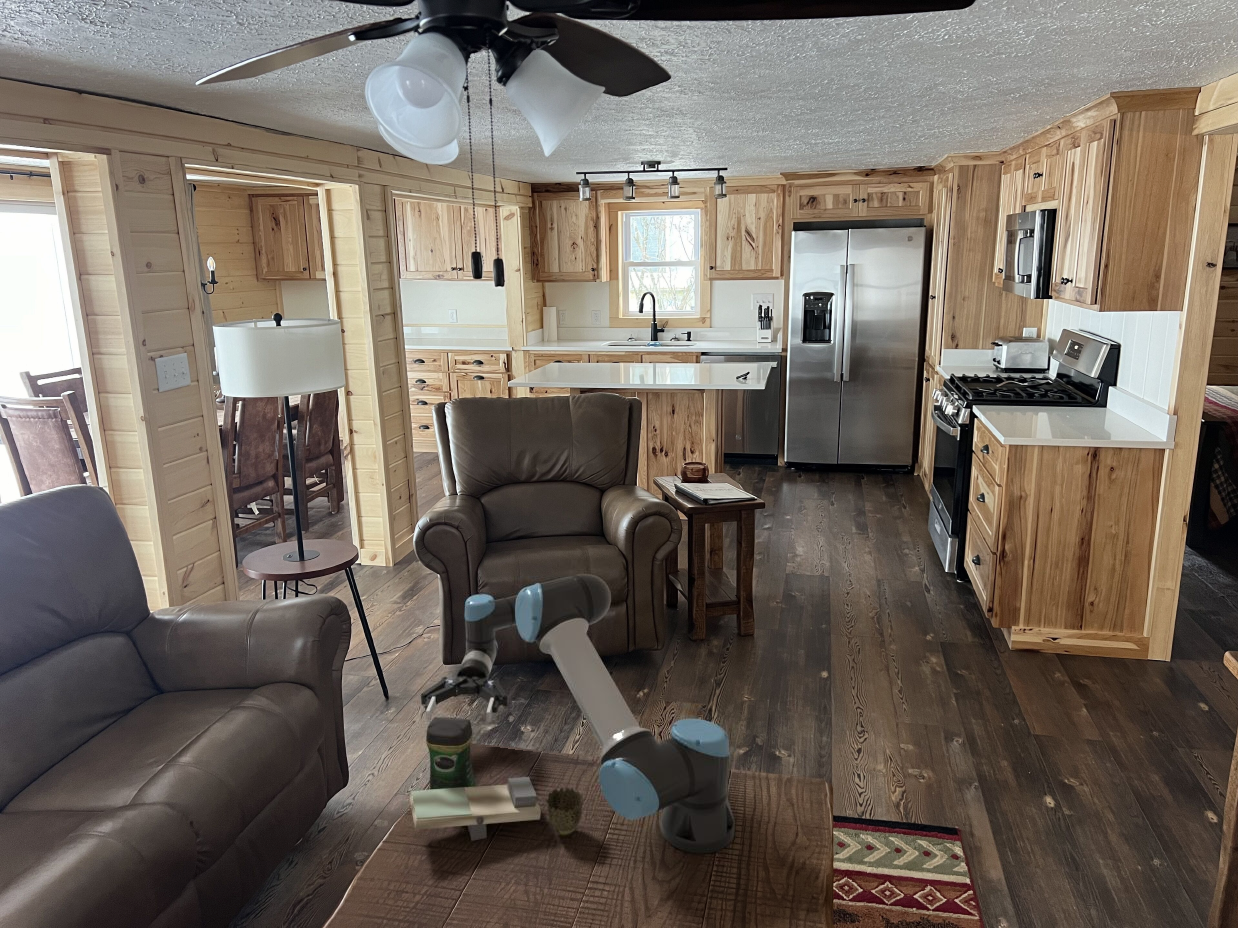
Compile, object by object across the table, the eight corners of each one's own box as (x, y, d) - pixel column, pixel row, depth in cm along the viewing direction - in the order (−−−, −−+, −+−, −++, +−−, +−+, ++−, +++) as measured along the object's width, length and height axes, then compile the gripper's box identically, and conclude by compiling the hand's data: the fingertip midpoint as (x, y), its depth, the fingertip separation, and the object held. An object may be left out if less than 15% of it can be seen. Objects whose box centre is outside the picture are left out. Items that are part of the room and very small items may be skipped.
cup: (578, 846, 172) (577, 811, 170) (542, 841, 173) (541, 806, 171) (586, 823, 179) (586, 789, 177) (552, 818, 180) (552, 784, 178)
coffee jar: (479, 789, 190) (476, 713, 186) (468, 811, 183) (465, 732, 178) (437, 785, 191) (433, 709, 187) (424, 807, 184) (420, 728, 179)
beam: (540, 820, 175) (543, 801, 174) (415, 830, 166) (417, 810, 166) (527, 789, 185) (530, 771, 184) (409, 798, 176) (411, 778, 176)
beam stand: (486, 837, 174) (486, 820, 173) (471, 840, 173) (471, 823, 172) (480, 816, 181) (479, 800, 180) (465, 819, 180) (465, 802, 179)
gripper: (524, 686, 215) (513, 732, 194) (424, 685, 215) (403, 730, 194) (524, 659, 213) (513, 702, 193) (423, 657, 213) (401, 700, 193)
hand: (457, 717), depth 193 cm, fingers open, 13 cm apart
